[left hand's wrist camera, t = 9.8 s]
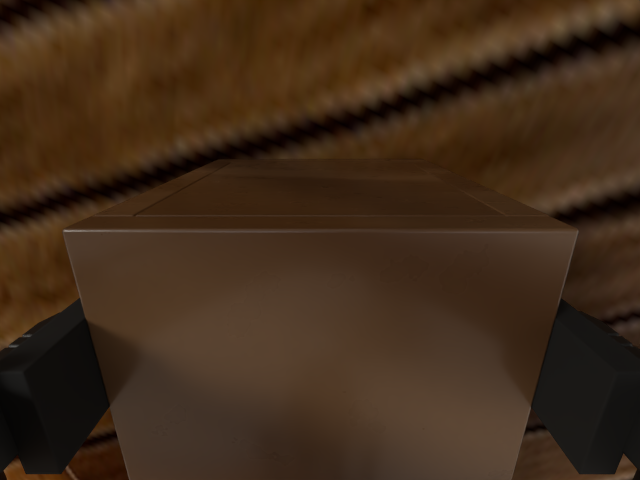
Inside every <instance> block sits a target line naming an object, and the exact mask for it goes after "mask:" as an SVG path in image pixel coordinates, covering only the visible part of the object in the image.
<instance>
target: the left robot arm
mask: <svg viewBox="0 0 640 480" xmlns="http://www.w3.org/2000/svg"><path fill="white" fill-rule="evenodd" d="M108 408H109V403H108V399H107V395H106V392H105V388H104V384H103V381H102V377H101V373H100V370H99V366H98V362H97V359H96V355H95V351H94V348H93V344H92V340H91V337H90V333H89V329H88V325H87V322H86V318H85V314H84V311H83V307H82V303H81V300H80V298H79V299H78V300H76V301H75V302H74V303H73V304H71V305H70V306H69V307H67V308H66V309H65V310H63V311H62V312H61V313H58V314H56V315H54V316H52V317H50V318H48V319H46V320H43V321H41V322H39V323H38V324H37V325H35V326H34V327H33V328H31V329H30V330H29V331H27V332H26V333H25V334H23V336H22V337H19V338H18V339H16V340H15V341H14V342H12V343H11V344H10V345H9V347H8V348H4V349H3V350H2V351H0V480H7V478H6V475H5V473H4V471H3V470H4V469H5V468H6V467H7V466H8V465H9V464H10V462H11V461H12V460H13V459H14V458H15V457H16V456H17V455H18V456H19V459H20V461H21V463H22V466H23V468H24V471H25V473H26V474H61V473H62V472H63V471H64V469H65V468H66V466H67V465H68V464H69V462H70V461H71V459H72V458H73V457H74V455H75V454H76V452H77V451H78V450H79V448H80V447H81V445H82V444H83V443H84V441H85V440H86V438H87V437H88V436H89V434H90V433H91V431H92V430H93V429H94V427H95V426H96V424H97V423H98V422H99V420H100V419H101V417H102V416H103V415H104V413H105V412H106V410H107V409H108ZM532 408H533V410H534V411H535V413H536V414H537V415H538V417H539V418H540V420H541V421H542V422H543V424H544V425H545V427H546V428H547V429H548V431H549V432H550V434H551V435H552V436H553V438H554V439H555V441H556V442H557V443H558V445H559V446H560V448H561V449H562V450H563V452H564V453H565V455H566V456H567V457H568V459H569V460H570V462H571V463H572V464H573V466H574V467H575V469H576V470H577V471H578V473H579V474H615V472H616V470H617V467H618V465H619V462H620V460H621V458H622V455H623V453H624V454H625V455H626V456H627V458H628V459H629V460H630V461H631V462H632V463H633V464H634V465H635V467H636V468H637V471H636V473H635V475H634V478H633V480H640V349H638V348H637V347H633V346H632V343H630V342H629V341H628V340H626V339H625V338H624V337H622V336H619V335H618V333H617V332H616V331H614V330H613V329H612V328H610V327H609V326H607V325H606V324H605V323H603V322H602V321H600V320H598V319H596V318H594V317H592V316H590V315H588V314H586V313H584V312H582V311H577V310H576V309H574V308H573V307H572V306H571V305H569V304H568V303H567V302H565V301H564V300H563V299H561V300H560V304H559V307H558V311H557V315H556V318H555V322H554V326H553V329H552V333H551V337H550V340H549V344H548V348H547V351H546V355H545V359H544V363H543V366H542V370H541V374H540V377H539V381H538V385H537V388H536V392H535V396H534V399H533V403H532Z"/></svg>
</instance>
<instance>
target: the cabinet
mask: <svg viewBox="0 0 640 480" xmlns="http://www.w3.org/2000/svg"><path fill="white" fill-rule="evenodd" d="M62 233H63V237H64V241H65V244H66V248H67V252H68V255H69V259H70V263H71V267H72V270H73V274H74V278H75V281H76V285H77V289H78V292H79V296H80V300H81V303H82V307H83V311H84V314H85V318H86V322H87V325H88V329H89V333H90V337H91V340H92V344H93V348H94V351H95V355H96V359H97V362H98V366H99V370H100V373H101V377H102V381H103V384H104V388H105V392H106V395H107V399H108V403H109V407H110V410H111V414H112V418H113V421H114V425H115V429H116V432H117V436H118V440H119V443H120V447H121V451H122V454H123V458H124V462H125V465H126V469H127V473H128V477H129V480H512V477H513V473H514V469H515V466H516V462H517V458H518V455H519V451H520V447H521V444H522V440H523V436H524V433H525V429H526V425H527V422H528V418H529V414H530V410H531V407H532V403H533V399H534V396H535V392H536V388H537V385H538V381H539V377H540V374H541V370H542V366H543V363H544V359H545V355H546V351H547V348H548V344H549V340H550V337H551V333H552V329H553V326H554V322H555V318H556V315H557V311H558V307H559V304H560V300H561V296H562V292H563V289H564V285H565V281H566V278H567V274H568V270H569V267H570V263H571V259H572V256H573V252H574V248H575V245H576V241H577V237H578V233H579V231H578V229H577V228H574V227H572V226H570V225H568V224H565V223H563V222H561V221H559V220H557V219H554V218H552V217H550V216H549V215H547V214H545V213H542V212H540V211H538V210H536V209H533V208H531V207H529V206H527V205H524V204H522V203H520V202H518V201H515V200H513V199H511V198H509V197H506V196H504V195H502V194H500V193H497V192H495V191H493V190H491V189H489V188H486V187H484V186H482V185H480V184H477V183H475V182H473V181H471V180H468V179H466V178H464V177H462V176H459V175H457V174H455V173H453V172H450V171H448V170H446V169H444V168H442V167H439V166H437V165H435V164H433V163H430V162H427V161H425V160H423V159H218V160H216V161H214V162H212V163H210V164H207V165H205V166H203V167H201V168H198V169H196V170H194V171H192V172H189V173H187V174H185V175H183V176H180V177H178V178H176V179H174V180H172V181H169V182H167V183H165V184H163V185H160V186H158V187H156V188H154V189H151V190H149V191H147V192H145V193H142V194H140V195H138V196H136V197H134V198H131V199H129V200H127V201H125V202H122V203H120V204H118V205H116V206H113V207H111V208H109V209H107V210H105V211H102V212H100V213H98V214H96V215H94V216H91V217H89V218H87V219H84V220H82V221H80V222H78V223H75V224H73V225H71V226H69V227H66V228H64V229H63V231H62Z"/></svg>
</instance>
